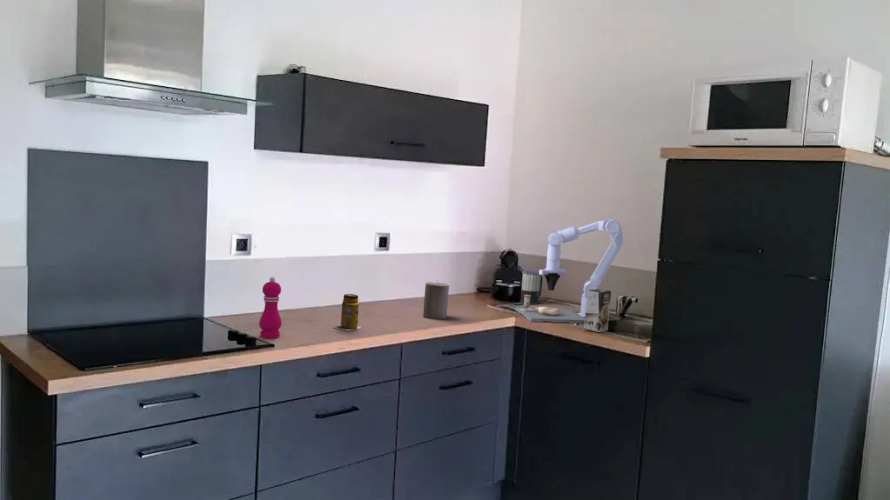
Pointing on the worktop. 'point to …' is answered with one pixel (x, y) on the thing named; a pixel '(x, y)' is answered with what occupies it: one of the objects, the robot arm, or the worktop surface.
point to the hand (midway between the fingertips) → (551, 290)
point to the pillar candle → (436, 300)
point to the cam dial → (540, 309)
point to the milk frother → (531, 286)
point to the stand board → (551, 316)
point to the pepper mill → (270, 311)
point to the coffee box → (597, 309)
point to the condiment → (349, 313)
